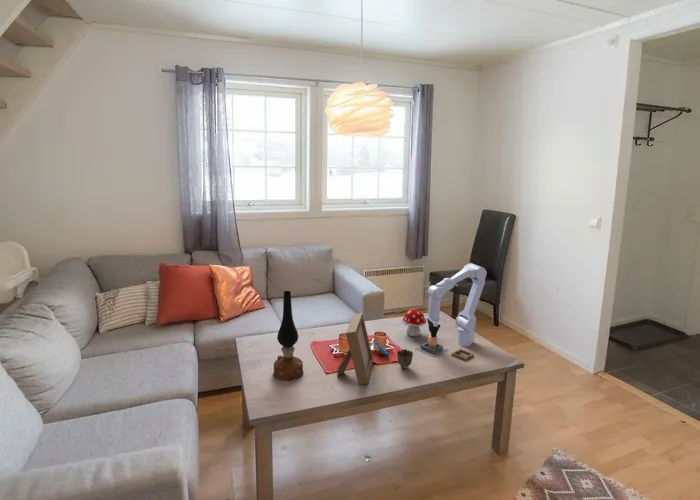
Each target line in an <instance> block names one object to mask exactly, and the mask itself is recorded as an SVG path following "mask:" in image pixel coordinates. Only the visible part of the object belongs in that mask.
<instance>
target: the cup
mask: <svg viewBox="0 0 700 500" xmlns="http://www.w3.org/2000/svg"><path fill="white" fill-rule="evenodd" d="M396 353H397V355H396V357H397V363H398V364H399V366H400V368H401V369H402V370H408V369H409V366H410V365H411V364H412V361H413V356H414V352H413V351H412V350H409V349H406V348H405V349H403V348H402V349H401V350H400V349H399V350H397V351H396Z"/></svg>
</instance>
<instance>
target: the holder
mask: <svg viewBox="0 0 700 500" xmlns="http://www.w3.org/2000/svg"><path fill="white" fill-rule="evenodd" d="M449 356H450V357H452V358H454V359H456V360H459V361H461V362H463V363H466V362H469V361H470V360H472V359H474V358H475V357H476V355H474V353H473V352H469V351H466V350H465V349H462V348H459V349H457V350H455V351H454V352H452V353H450V354H449Z"/></svg>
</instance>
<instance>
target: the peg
mask: <svg viewBox="0 0 700 500" xmlns="http://www.w3.org/2000/svg"><path fill="white" fill-rule="evenodd" d="M427 340H428V341H427V342H428V347H429V348H431V349H434V348H436V347H437V344H438V335H436V337H431V334H429V335H428V339H427Z"/></svg>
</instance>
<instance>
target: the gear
mask: <svg viewBox="0 0 700 500" xmlns="http://www.w3.org/2000/svg"><path fill="white" fill-rule="evenodd" d="M376 340H377V339H376ZM376 340H375V339H373V342H374V344H375V345H376V347H378V348H380V351H381V352H383V354H384V355H386V356H389V352H388V350H387V349H386V350H387V351H386V350H384V349H383V348H382V347H381V346H380V345H379V344H378V343H377V341H376ZM378 348H377V349H378Z"/></svg>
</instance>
